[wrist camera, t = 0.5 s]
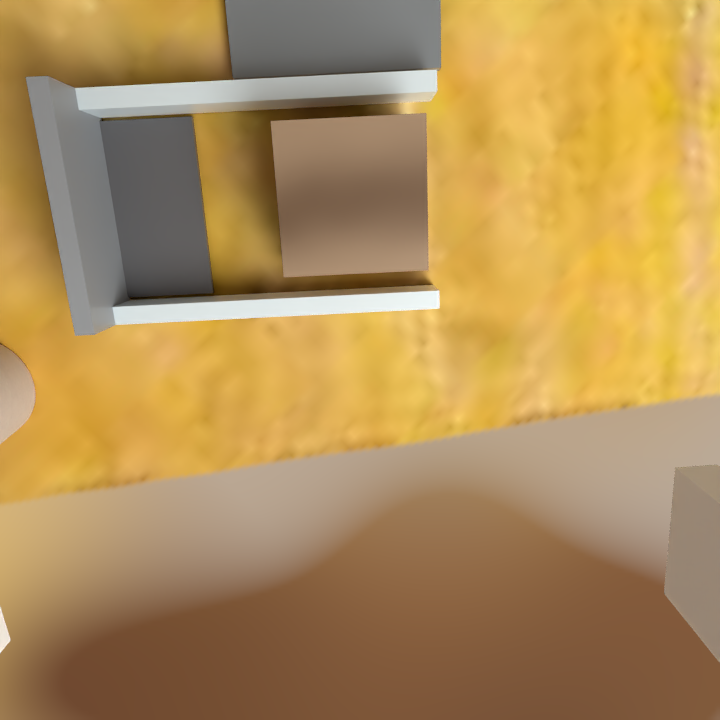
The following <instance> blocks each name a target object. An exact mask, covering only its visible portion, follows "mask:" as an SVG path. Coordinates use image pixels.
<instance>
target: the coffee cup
mask: <svg viewBox="0 0 720 720" xmlns="http://www.w3.org/2000/svg"><path fill="white" fill-rule="evenodd" d="M34 404H35V387H34V383H33V379H32V377H31V374H30V372H29V371H28V369H27V367H26V366H25V364H24V363H23V362H22V361H21V359H20V358H19V357H18V356H17V355H16V354H15V353H13V352H12V351H11V350H9V349H8V348H6V347H5V346H3V345H1V344H0V444H1V443H2V442H3V441H5V440H6V439H7V438H8V437H9V436H11V435H12V434H13V433H14V432H15V431H17V430H18V429H19V428H20V427H21V426H22V425H23V424H24V423H25V422H26V421H27V420H28V419H29V417H30V415H31V413H32V411H33V408H34Z"/></svg>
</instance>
